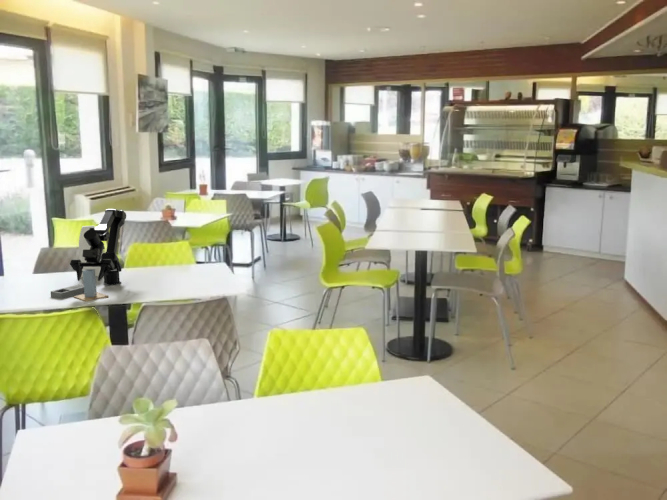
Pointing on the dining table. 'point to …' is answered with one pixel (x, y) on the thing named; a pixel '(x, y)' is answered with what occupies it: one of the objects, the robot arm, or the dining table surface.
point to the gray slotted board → (68, 291)
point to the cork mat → (83, 298)
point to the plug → (89, 283)
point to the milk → (84, 246)
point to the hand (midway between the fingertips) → (88, 280)
